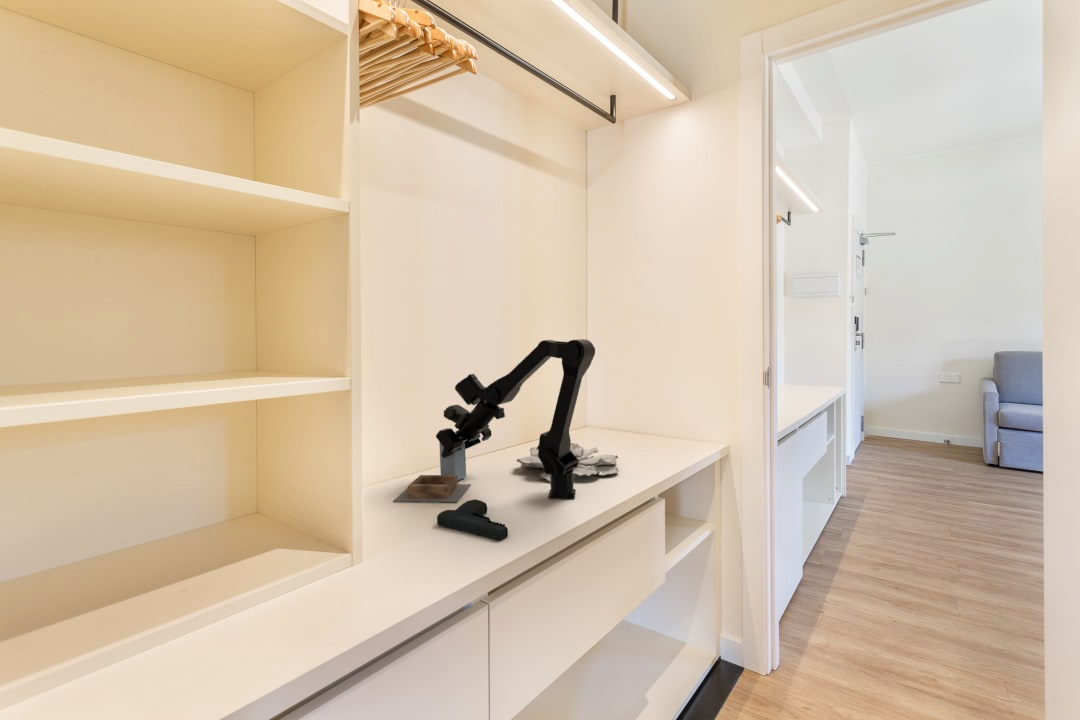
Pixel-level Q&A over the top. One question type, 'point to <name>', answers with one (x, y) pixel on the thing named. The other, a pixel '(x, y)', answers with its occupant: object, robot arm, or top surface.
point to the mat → (451, 499)
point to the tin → (454, 463)
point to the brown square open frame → (432, 486)
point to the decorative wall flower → (582, 464)
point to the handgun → (472, 520)
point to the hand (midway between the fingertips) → (448, 454)
